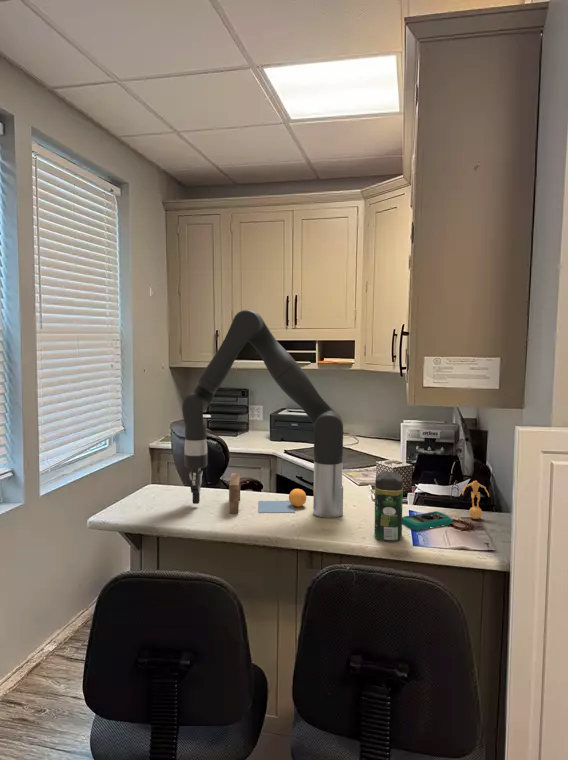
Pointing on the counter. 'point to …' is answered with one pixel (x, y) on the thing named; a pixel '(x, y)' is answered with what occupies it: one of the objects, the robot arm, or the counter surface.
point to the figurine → (475, 510)
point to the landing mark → (276, 507)
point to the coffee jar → (388, 506)
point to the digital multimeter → (426, 520)
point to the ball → (297, 497)
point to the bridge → (234, 493)
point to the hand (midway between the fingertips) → (196, 503)
